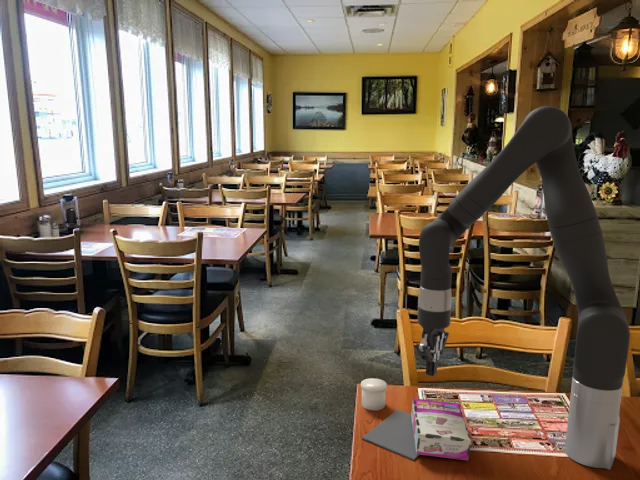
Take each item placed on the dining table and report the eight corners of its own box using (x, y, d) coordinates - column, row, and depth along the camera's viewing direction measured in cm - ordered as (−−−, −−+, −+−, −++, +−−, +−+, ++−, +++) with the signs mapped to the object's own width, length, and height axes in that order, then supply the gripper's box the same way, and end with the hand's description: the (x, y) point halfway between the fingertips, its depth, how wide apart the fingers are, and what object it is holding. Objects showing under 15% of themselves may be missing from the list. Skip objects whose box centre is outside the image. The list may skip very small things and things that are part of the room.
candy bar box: (410, 416, 125) (414, 454, 109) (412, 397, 125) (417, 433, 109) (457, 422, 124) (469, 462, 108) (460, 403, 124) (472, 440, 107)
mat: (446, 428, 122) (446, 426, 122) (413, 460, 109) (414, 458, 109) (397, 410, 129) (397, 409, 129) (362, 439, 117) (362, 437, 117)
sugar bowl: (391, 403, 133) (391, 383, 132) (377, 413, 128) (378, 392, 127) (369, 395, 137) (369, 376, 136) (355, 405, 132) (355, 385, 131)
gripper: (436, 315, 114) (432, 389, 117) (461, 301, 124) (457, 369, 128) (406, 308, 119) (403, 379, 122) (432, 295, 129) (429, 361, 132)
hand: (431, 374), depth 125 cm, fingers closed
